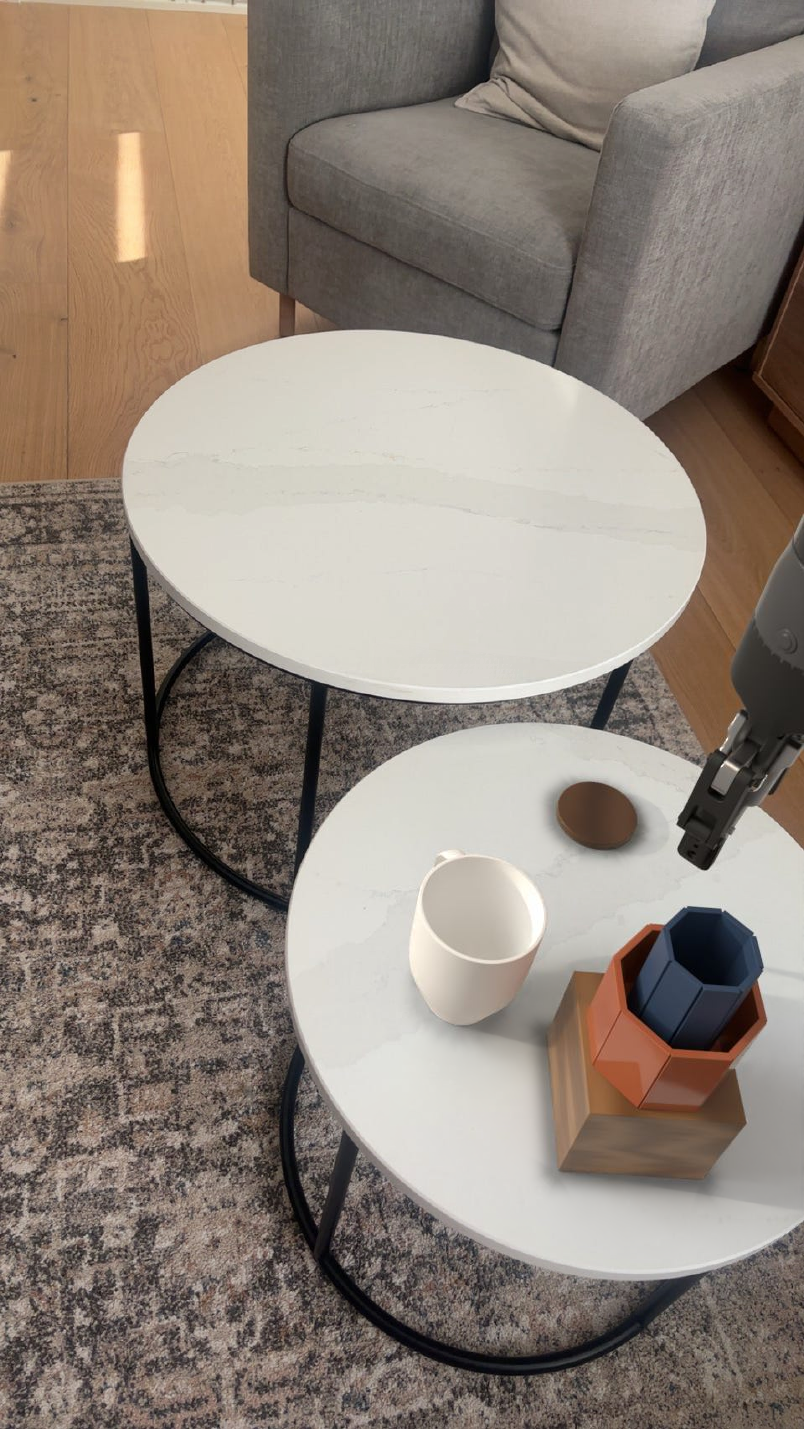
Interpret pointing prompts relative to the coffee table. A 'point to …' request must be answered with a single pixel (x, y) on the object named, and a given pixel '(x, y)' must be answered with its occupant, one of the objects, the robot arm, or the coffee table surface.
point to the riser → (626, 1109)
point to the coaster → (596, 815)
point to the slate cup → (696, 977)
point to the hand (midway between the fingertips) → (727, 821)
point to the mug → (474, 935)
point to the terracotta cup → (645, 1058)
